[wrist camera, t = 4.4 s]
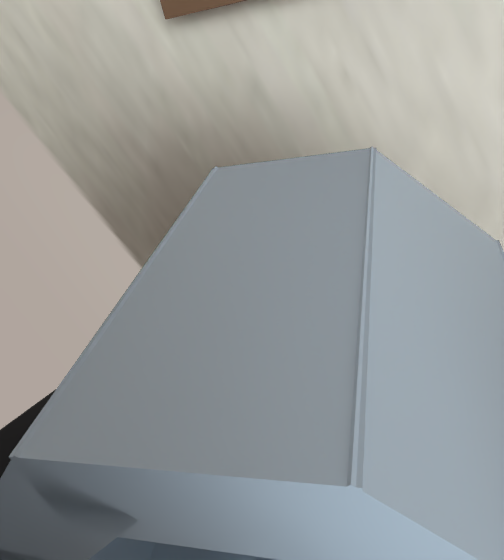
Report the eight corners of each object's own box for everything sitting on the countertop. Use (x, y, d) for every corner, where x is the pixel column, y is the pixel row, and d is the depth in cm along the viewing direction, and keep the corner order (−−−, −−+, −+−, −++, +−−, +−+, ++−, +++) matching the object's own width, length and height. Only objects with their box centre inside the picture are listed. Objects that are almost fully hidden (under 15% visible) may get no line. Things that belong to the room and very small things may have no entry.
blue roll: (484, 419, 11) (558, 791, 6) (210, 408, 13) (112, 680, 8) (510, 128, 7) (752, 520, 2) (118, 178, 9) (-158, 440, 5)
